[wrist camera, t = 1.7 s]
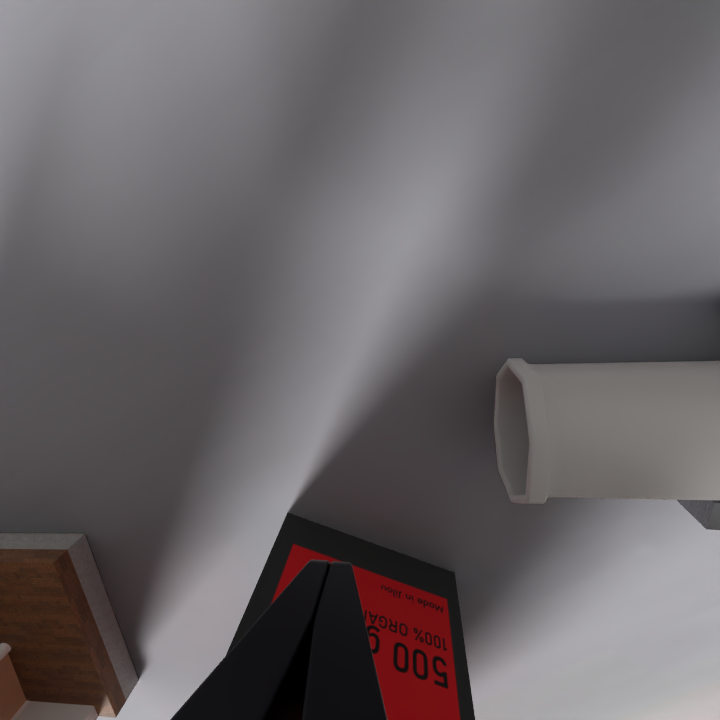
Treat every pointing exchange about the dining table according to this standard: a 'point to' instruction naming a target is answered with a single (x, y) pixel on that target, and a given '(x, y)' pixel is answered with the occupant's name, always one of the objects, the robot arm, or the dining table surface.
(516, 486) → the tube
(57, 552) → the display case
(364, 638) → the robot arm
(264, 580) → the cleaning product box
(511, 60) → the dining table surface
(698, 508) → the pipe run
